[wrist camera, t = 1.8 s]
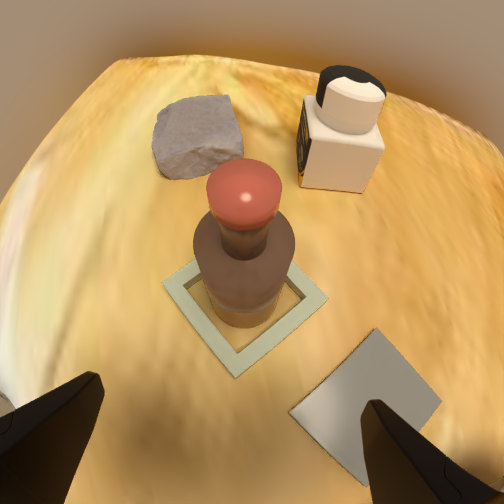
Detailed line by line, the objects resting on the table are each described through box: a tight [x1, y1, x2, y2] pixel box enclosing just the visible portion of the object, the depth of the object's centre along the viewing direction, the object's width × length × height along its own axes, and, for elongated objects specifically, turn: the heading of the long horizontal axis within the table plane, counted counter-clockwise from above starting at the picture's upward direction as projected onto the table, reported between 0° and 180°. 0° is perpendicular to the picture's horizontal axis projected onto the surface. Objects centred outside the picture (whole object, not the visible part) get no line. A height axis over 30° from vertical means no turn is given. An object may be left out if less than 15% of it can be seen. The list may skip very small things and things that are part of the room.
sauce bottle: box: [193, 159, 295, 328], centre depth 18 cm, size 5×5×14 cm
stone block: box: [152, 95, 244, 180], centre depth 31 cm, size 12×5×10 cm
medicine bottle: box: [296, 65, 386, 193], centre depth 25 cm, size 7×7×12 cm
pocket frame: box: [161, 258, 329, 378], centre depth 23 cm, size 10×10×1 cm
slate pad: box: [289, 328, 442, 487], centre depth 19 cm, size 10×10×1 cm
